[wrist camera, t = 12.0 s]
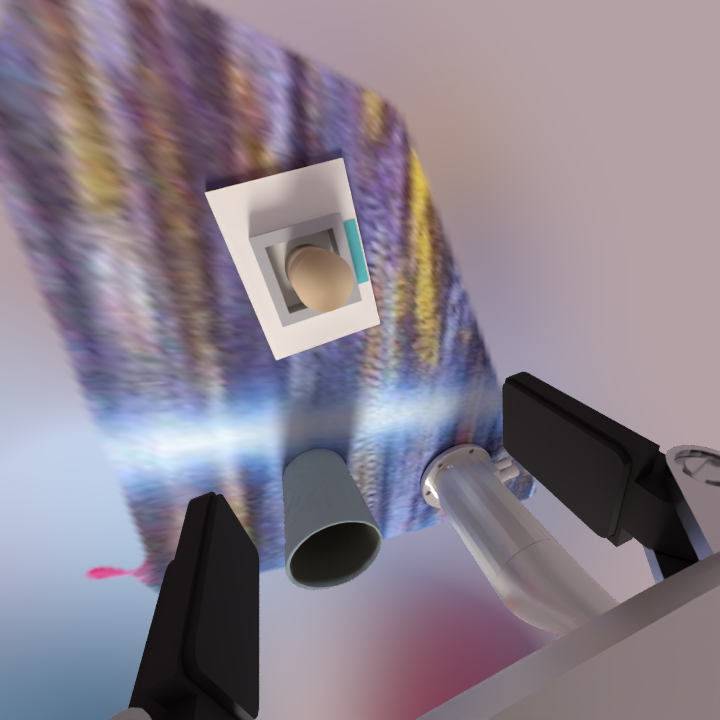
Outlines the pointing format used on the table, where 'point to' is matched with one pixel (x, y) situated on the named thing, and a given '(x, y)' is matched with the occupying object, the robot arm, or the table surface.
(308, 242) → the white square-hole tray
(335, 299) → the barrel peg
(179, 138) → the table surface
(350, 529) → the grey cylindrical pot
